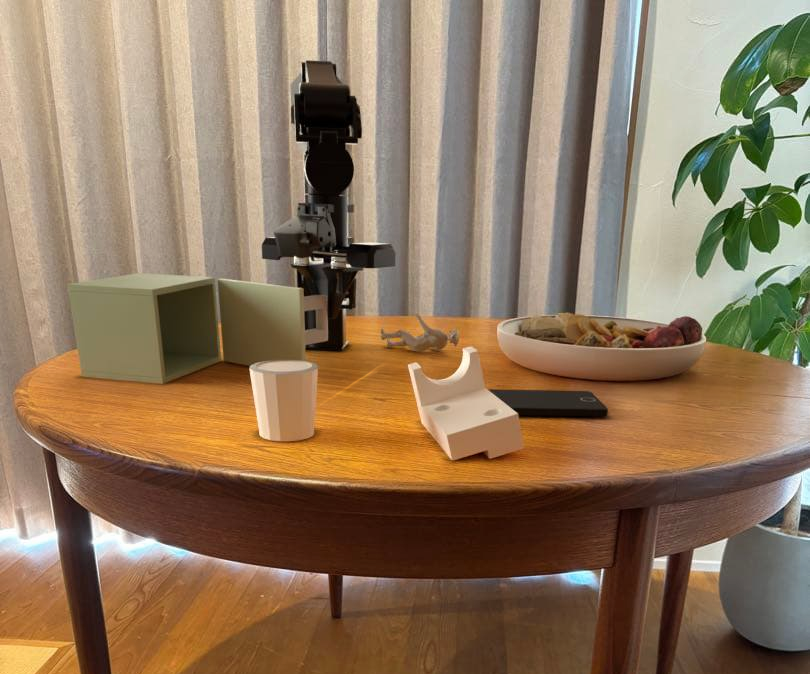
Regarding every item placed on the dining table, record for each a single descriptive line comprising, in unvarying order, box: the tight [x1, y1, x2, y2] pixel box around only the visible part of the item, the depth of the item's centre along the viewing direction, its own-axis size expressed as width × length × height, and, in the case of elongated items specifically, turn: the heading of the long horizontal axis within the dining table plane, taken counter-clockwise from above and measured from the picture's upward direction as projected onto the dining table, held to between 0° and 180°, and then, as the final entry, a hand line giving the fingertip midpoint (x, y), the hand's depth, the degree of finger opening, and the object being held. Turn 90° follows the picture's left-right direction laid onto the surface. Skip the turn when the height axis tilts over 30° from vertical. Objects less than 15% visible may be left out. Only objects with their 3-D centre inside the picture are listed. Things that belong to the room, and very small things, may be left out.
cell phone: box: [486, 388, 609, 418], centre depth 90 cm, size 9×18×1 cm, turn 91°
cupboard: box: [67, 272, 222, 385], centre depth 103 cm, size 12×16×12 cm
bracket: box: [407, 345, 525, 461], centre depth 77 cm, size 13×7×8 cm, turn 12°
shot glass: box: [249, 360, 319, 442], centre depth 77 cm, size 7×7×7 cm
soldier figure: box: [380, 313, 460, 353], centre depth 120 cm, size 8×5×12 cm
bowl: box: [496, 311, 707, 382], centre depth 113 cm, size 30×30×8 cm
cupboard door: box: [217, 278, 328, 367], centre depth 106 cm, size 7×16×11 cm, turn 54°
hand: (327, 318), depth 106 cm, fingers closed on cupboard door
